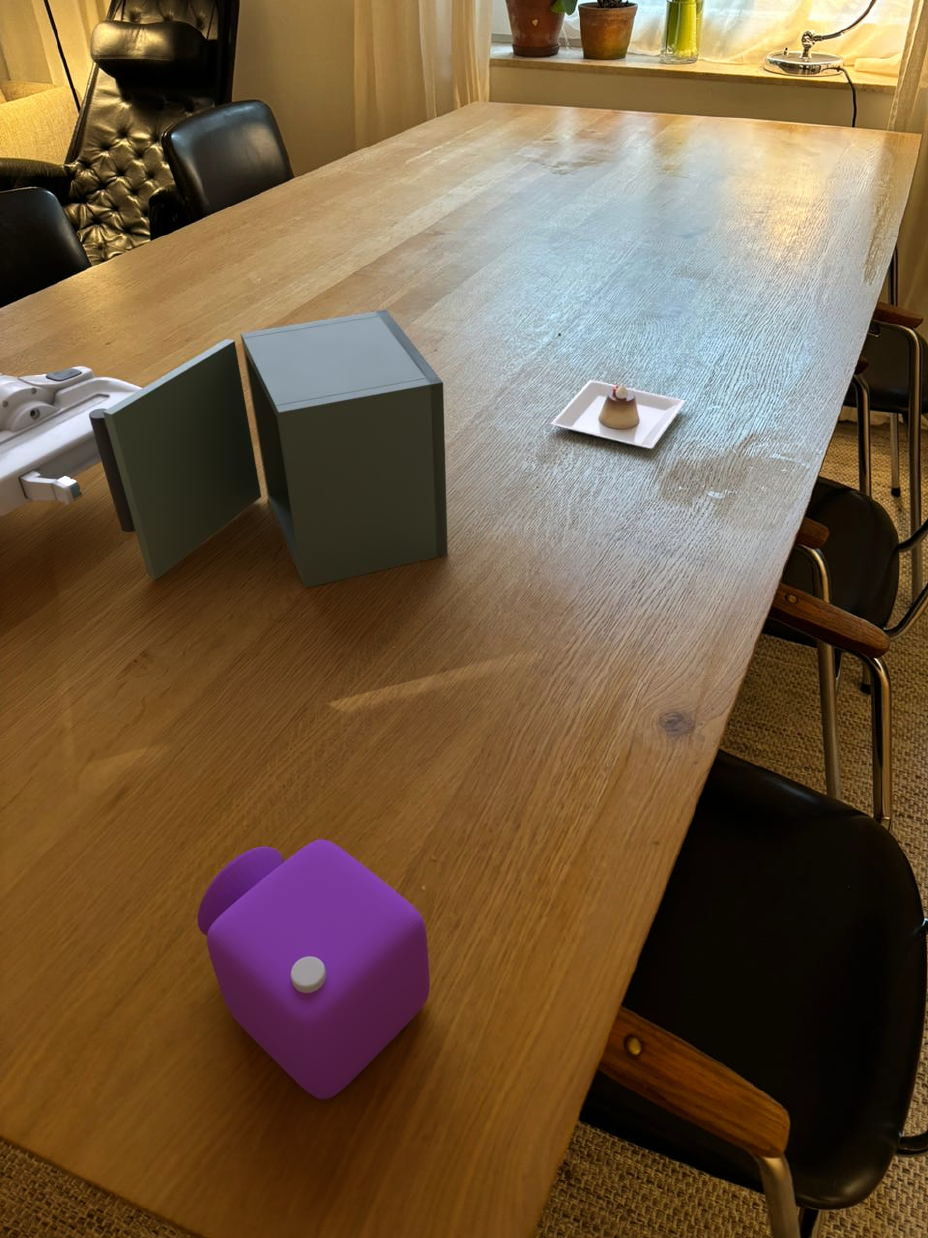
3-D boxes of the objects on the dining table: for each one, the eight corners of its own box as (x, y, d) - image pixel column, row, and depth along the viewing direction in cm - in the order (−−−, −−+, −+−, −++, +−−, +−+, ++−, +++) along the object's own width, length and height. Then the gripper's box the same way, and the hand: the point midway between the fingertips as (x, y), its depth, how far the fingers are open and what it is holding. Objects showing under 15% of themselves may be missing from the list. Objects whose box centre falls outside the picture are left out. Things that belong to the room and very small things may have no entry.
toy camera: (279, 880, 67) (258, 783, 60) (453, 974, 61) (449, 879, 55) (166, 1011, 60) (128, 917, 53) (350, 1131, 54) (332, 1042, 48)
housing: (304, 588, 91) (278, 412, 79) (267, 498, 102) (240, 332, 91) (448, 554, 95) (443, 381, 83) (397, 471, 106) (386, 309, 94)
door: (108, 561, 94) (59, 398, 83) (216, 482, 104) (185, 327, 93) (156, 579, 91) (111, 414, 80) (261, 497, 102) (234, 340, 91)
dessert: (589, 387, 120) (592, 350, 117) (685, 409, 116) (691, 371, 113) (549, 432, 112) (551, 394, 109) (651, 457, 108) (656, 418, 104)
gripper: (-90, 445, 87) (7, 493, 81) (95, 358, 100) (191, 394, 94) (-65, 505, 91) (30, 555, 85) (110, 414, 104) (203, 452, 98)
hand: (116, 470), depth 90 cm, fingers open, 8 cm apart
